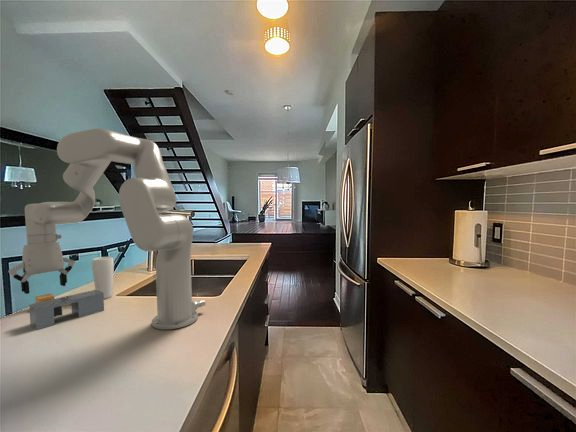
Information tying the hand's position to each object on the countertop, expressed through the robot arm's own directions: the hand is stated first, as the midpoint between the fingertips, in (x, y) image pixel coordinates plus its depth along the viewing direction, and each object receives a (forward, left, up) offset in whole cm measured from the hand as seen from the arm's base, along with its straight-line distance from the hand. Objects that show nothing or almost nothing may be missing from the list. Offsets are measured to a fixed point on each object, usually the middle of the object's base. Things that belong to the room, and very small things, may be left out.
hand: (45, 289), depth 95 cm
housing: (-1, +18, -6) cm, 19 cm away
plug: (0, +4, -6) cm, 8 cm away
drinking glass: (-16, +6, -7) cm, 18 cm away
